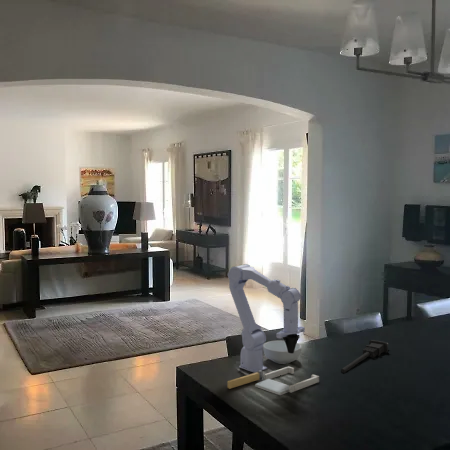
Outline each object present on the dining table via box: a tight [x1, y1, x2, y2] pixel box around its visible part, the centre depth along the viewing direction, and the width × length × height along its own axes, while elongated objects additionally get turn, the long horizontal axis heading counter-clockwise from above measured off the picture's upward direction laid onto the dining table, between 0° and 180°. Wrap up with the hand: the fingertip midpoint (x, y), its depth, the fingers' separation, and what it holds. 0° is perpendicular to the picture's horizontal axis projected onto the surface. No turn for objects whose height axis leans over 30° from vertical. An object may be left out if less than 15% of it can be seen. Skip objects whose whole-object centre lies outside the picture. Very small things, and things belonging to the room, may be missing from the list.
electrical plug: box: [340, 339, 389, 374], centre depth 226 cm, size 9×42×5 cm, turn 141°
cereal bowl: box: [263, 339, 302, 365], centre depth 225 cm, size 17×17×7 cm
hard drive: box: [254, 379, 290, 396], centre depth 194 cm, size 2×8×12 cm
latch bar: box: [227, 370, 263, 390], centre depth 198 cm, size 17×2×3 cm, turn 129°
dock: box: [256, 365, 320, 393], centre depth 201 cm, size 19×17×2 cm
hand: (290, 352), depth 205 cm, fingers closed
